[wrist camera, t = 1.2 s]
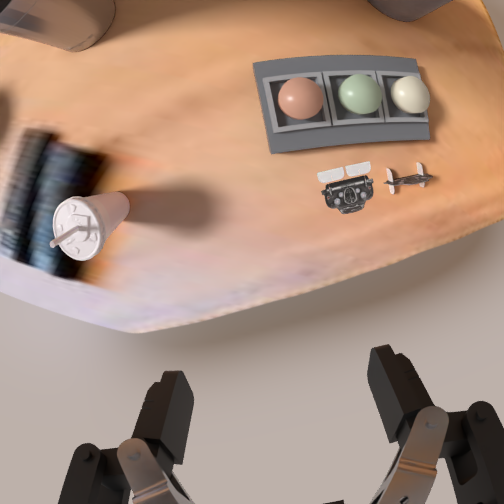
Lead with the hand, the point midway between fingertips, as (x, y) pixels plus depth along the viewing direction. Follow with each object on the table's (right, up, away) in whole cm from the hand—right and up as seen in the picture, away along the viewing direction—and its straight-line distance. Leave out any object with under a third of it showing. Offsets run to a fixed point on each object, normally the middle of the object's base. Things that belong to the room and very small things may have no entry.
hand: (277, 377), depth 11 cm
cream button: (+15, +22, +12) cm, 29 cm away
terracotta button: (+3, +20, +13) cm, 24 cm away
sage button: (+9, +21, +12) cm, 26 cm away
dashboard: (+14, +14, +20) cm, 28 cm away
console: (+9, +22, +16) cm, 29 cm away
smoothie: (-18, +11, +21) cm, 30 cm away
